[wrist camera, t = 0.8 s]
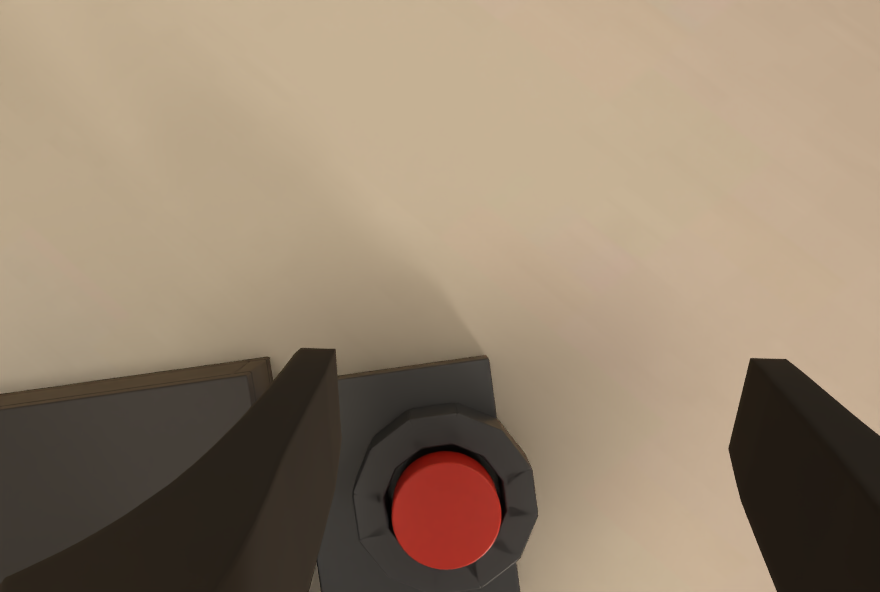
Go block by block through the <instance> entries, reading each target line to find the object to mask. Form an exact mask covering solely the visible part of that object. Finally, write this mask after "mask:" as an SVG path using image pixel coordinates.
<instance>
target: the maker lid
mask: <svg viewBox="0 0 880 592" xmlns="http://www.w3.org/2000/svg"><path fill="white" fill-rule="evenodd" d="M254 403H255V395H254V389H253V382H252V376H251V373H250V372H244V373H237V374H230V375H223V376H216V377H208V378H201V379H194V380H187V381H180V382H173V383H166V384H158V385H151V386H144V387H137V388H130V389H123V390H116V391H109V392H101V393H94V394H87V395H80V396H73V397H66V398H59V399H51V400H44V401H37V402H30V403H23V404H16V405H9V406H2V407H0V584H1V583H2V581H3V580H4V578H5V577H7V576H10V575H12V574H14V573H17V572H19V571H21V570H23V569H25V568H27V567H29V566H31V565H33V564H36V563H38V562H40V561H42V560H44V559H46V558H48V557H50V556H52V555H54V554H56V553H59V552H61V551H63V550H65V549H66V548H68V547H70V546H72V545H74V544H76V543H78V542H80V541H81V540H83V539H85V538H87V537H89V536H90V535H92V534H94V533H96V532H97V531H99V530H101V529H103V528H104V527H106V526H108V525H109V524H111V523H112V522H114V521H116V520H117V519H119V518H121V517H122V516H124V515H125V514H127V513H128V512H130V511H131V510H133V509H134V508H136V507H137V506H139V505H140V504H141V503H143V502H144V501H146V500H147V499H149V498H150V497H152V496H153V495H154V494H156V493H157V492H159V491H160V490H162V489H163V488H164V487H166V486H167V485H169V484H170V483H171V482H172V481H174V480H175V479H176V478H177V477H178V476H180V475H181V474H182V473H183V472H185V471H186V470H187V469H188V468H189V467H190V466H192V465H193V464H194V463H195V462H196V461H197V460H198V459H200V458H201V457H202V456H203V455H204V454H205V453H206V452H207V451H208V450H209V449H210V448H212V447H213V446H214V445H215V444H216V443H217V442H218V441H219V440H220V439H221V438H222V437H223V436H224V435H225V434H226V433H227V432H228V431H229V430H230V429H231V428H232V427H233V426H234V425H235V424H236V423H237V422H238V421H239V419H240V418H241V417H242V416H243V415H244V414H245V413H246V412H247V411H248V409H249V408H250V407H251V406H252V405H253V404H254Z"/></svg>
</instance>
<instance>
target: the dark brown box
mask: <svg viewBox="0 0 880 592" xmlns="http://www.w3.org/2000/svg"><path fill="white" fill-rule="evenodd" d="M244 372H250V373H251V376H252V382H253V389H254V395H255V402H256V401H257V399H258V398H259V397H260V396H261V395H262V394H263V393H264V391H265V390H266V389H267V388H268V387H269V385H270V384H271V383H272V382H273V378H272V371H271V365H270V358H269V357H263V358H255V359H248V360H241V361H234V362H227V363H220V364H213V365H205V366H198V367H191V368H184V369H177V370H170V371H163V372H155V373H148V374H141V375H134V376H127V377H120V378H113V379H105V380H98V381H91V382H84V383H77V384H70V385H63V386H55V387H48V388H41V389H34V390H27V391H20V392H13V393H5V394H0V407H2V406H9V405H16V404H23V403H30V402H37V401H44V400H51V399H59V398H66V397H73V396H80V395H87V394H94V393H101V392H109V391H116V390H123V389H130V388H137V387H144V386H151V385H158V384H166V383H173V382H180V381H187V380H194V379H201V378H208V377H216V376H223V375H230V374H237V373H244Z"/></svg>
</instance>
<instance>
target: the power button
mask: <svg viewBox="0 0 880 592" xmlns="http://www.w3.org/2000/svg"><path fill="white" fill-rule="evenodd" d="M391 517H392V526H393V531H394V533H395V536H396V538H397V540H398V542H399V544H400V546H401V547H402V548H403V550H404V551H405V552H406V553H407V554H408V555H409V556H410V557H412V558H413V559H414V560H416V561H417V562H419V563H421V564H423V565H425V566H428V567H431V568H436V569H445V570H448V569H456V568H461V567H464V566H467V565H469V564H471V563H473V562H475V561H476V560H478V559H479V558H481V557H482V556H483V555H484V554H485V553H486V552H487V551H488V550H489V549H490V548H491V546H492V545H493V543H494V541H495V539H496V537H497V535H498V532H499V529H500V525H501V506H500V501H499V498H498V495H497V491H496V488H495V485H494V482H493V480H492V478H491V476H490V475H489V473H488V472H487V470H486V469H485V468H484V467H483V466H482V465H481V464H480V463H479V462H477V461H476V460H474V459H473V458H471V457H469V456H467V455H465V454H462V453H459V452H453V451H437V452H433V453H429V454H426V455H424V456H422V457H420V458H418V459H417V460H415V461H414V462H412V463H411V464H410V465H409V466H408V467H407V468H406V469H405V470H404V471H403V473H402V474H401V476H400V477H399V479H398V482H397V484H396V487H395V490H394V495H393V503H392V516H391Z"/></svg>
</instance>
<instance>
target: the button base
mask: <svg viewBox="0 0 880 592" xmlns="http://www.w3.org/2000/svg"><path fill="white" fill-rule="evenodd" d="M337 378H338V392H339V406H340V420H341V434H342V442H341V450H340V457H339V465H338V473H337V480H336V487H335V492H334V496H333V500H332V504H331V508H330V512H329V515H328V519H327V523H326V527H325V531H324V535H323V538H322V542H321V546H320V550H319V554H318V557H317V567H318V573H319V580H320V587H321V592H520V586H519V579H518V571H517V564H516V562H517V561H518V560H519V559H520V558H521V555H522V553H523V551H524V548H525V546H526V543H527V541H528V539H529V536H530V534H531V532H532V529H533V527H534V525H535V522H536V520H537V517H538V508H537V501H536V493H535V486H534V478H533V471H532V468H531V465H530V463H529V461H528V459H527V457H526V455H525V453H524V452H523V451H522V449H521V448H520V447H519V445H518V444H517V443H516V442H515V440H514V439H513V438H512V437H511V435H510V434H509V433H508V431H507V430H506V429H505V428H504V426H503V425H502V424H501V422H500V421H499V420H497V415H496V408H495V400H494V393H493V385H492V378H491V371H490V363H489V359H488V357H487V356H486V355H483V356H476V357H469V358H462V359H455V360H448V361H441V362H433V363H426V364H419V365H412V366H405V367H398V368H391V369H384V370H377V371H369V372H362V373H355V374H348V375H341V376H337ZM437 451H453V452H459V453H462V454H465V455H467V456H469V457H471V458H473V459H474V460H476V461H477V462H479V463H480V464H481V465H482V466H483V467H484V468H485V469H486V470H487V472H488V473H489V475H490V476H491V478H492V480H493V482H494V485H495V488H496V491H497V495H498V498H499V501H500V506H501V525H500V529H499V532H498V535H497V537H496V539H495V541H494V543H493V545H492V546H491V548H490V549H489V550H488V551H487V552H486V553H485V554H484V555H483V556H482V557H481V558H479V559H478V560H476V561H475V562H473V563H471V564H469V565H467V566H464V567H461V568H456V569H448V570H445V569H436V568H431V567H428V566H425V565H423V564H421V563H419V562H417V561H416V560H414V559H413V558H412V557H410V556H409V555H408V554H407V553H406V552H405V551H404V550H403V548H402V547H401V546H400V544H399V542H398V540H397V538H396V536H395V533H394V531H393V526H392V517H391V516H392V503H393V495H394V490H395V487H396V484H397V482H398V479H399V477H400V476H401V474H402V473H403V471H404V470H405V469H406V468H407V467H408V466H409V465H410V464H411V463H412V462H414V461H415V460H417V459H418V458H420V457H422V456H424V455H426V454H429V453H433V452H437Z"/></svg>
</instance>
